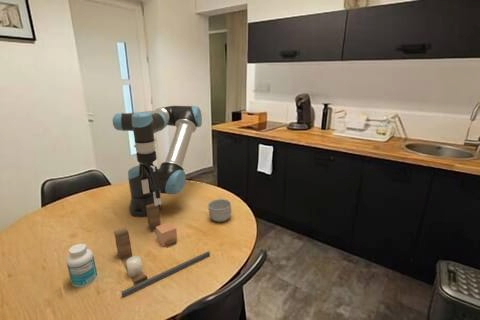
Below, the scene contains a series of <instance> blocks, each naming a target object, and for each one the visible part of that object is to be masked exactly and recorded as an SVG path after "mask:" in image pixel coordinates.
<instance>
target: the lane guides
mask: <svg viewBox="0 0 480 320" xmlns="http://www.w3.org/2000/svg"><path fill="white" fill-rule="evenodd" d="M210 256H211V253H210V251H209V250H208V251H205V252H204V253H201V254H200V255H197V256H194V257H193V258H191V259H188V260H186V261H185V262H182V263H180V264H178V265H176V266H173V267H172V268H169V269H167V270H165V271H163V272H161V273H159V274H157V275H154V276H152V277H150V278H147V280H145V281H143V282H141V283H139V284H137V285H132V286H130V287H128V288H126V289H124V290H122V291H120V292H121V296H122V298H126V297H127V296H129V295H132V294H134V293H136V292H138V291H140V290H142V289H144V288H146V287H149V286H150V285H152V284H155V283H157V282H159V281H160V280H163V279H165V278H167V277H170V276H172V275H173V274H176V273H177V272H179V271H182V270H184V269H185V268H188V267H190V266H192V265H195V264H197V263H199V262H201V261H202V260H205V259H207V258H209V257H210Z"/></svg>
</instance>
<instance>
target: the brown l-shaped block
mask: <svg viewBox="0 0 480 320" xmlns="http://www.w3.org/2000/svg"><path fill="white" fill-rule="evenodd" d="M146 209H147V216H146V217H147V223H148V229H149V230H150V232H151V233H154V234H155V235H156V236H157V234H156V227H157V226H160V225H162V224H161V219H160V217H161V216H160V210H159V206H158V205H157V206H155V204H154V203H153V204H150V205H146ZM177 242H178V241H176V240H173V241H170V242H168V243H166V246H165V247H166V248H170V247H173V246H175V245H177Z"/></svg>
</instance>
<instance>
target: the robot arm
mask: <svg viewBox="0 0 480 320" xmlns="http://www.w3.org/2000/svg"><path fill="white" fill-rule="evenodd" d="M202 122H203V117H202V111H201V109H200V107H199V106H196V105H168V106H164V107H158V108H156V109H154V110H147V111H138V112H137V111H135V112H128V113H124V112H120V113H116V114H114V115H113V117H112V125H113V127H114V129H115V130H117V131H122V132H125V131H126V132H127V131H128V132H133V138H134V145H133V147H134V148H135V152H136V160H137V162H138V163H139V164H138V165H136V166H133V167H131V168H129V170H128V172H127V180H128V183H129V191H130V202H129V207H128V211H129V215H131V216H133V217H138V218H140V217H142V218H143V217H147V209H146V205H150V204H153V203H154V204H155V206H157V205H158V206H159V211H160V210H161V208H162V207H161V206H162V196H161V194H167V195H177V194H179V193H181V192H182V190H183V189H184V187H185V185H186V179H187V175H186V172H185V171H184V170H185V169H184V168H183V165H184V161H185V158H186V154H187V152H188V148H189V145H190V140H191V138H192V134H193V133H195V132H196V130H197V128H200V127H201V126H202V124H203V123H202ZM167 126H171V127H176V129H175V132H174V135H173V138H172V140H171V144H170V146H169V149H168V153H167V156H166V157H165V158H166V159H165V161H162V163H160V166H159V168H158V166H157V165H155V164H154V162H155V161H157V152H156V149H157V147H156V140H155V133H158V132H161V131H162V130H164V129H165V128H166V127H167Z"/></svg>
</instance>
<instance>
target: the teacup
mask: <svg viewBox="0 0 480 320" xmlns="http://www.w3.org/2000/svg"><path fill="white" fill-rule="evenodd" d="M207 207H208V215H209V217H210V219H211V220H212V221H215V222H217V223H222V222H225V221H227V220H228V219H229V218H230V216H231V215H232V202H231V201H230V200H229V199H225V198H223V197H219V198H217V199H213V200H211V201H210V202H209V203H208V204H207Z"/></svg>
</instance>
